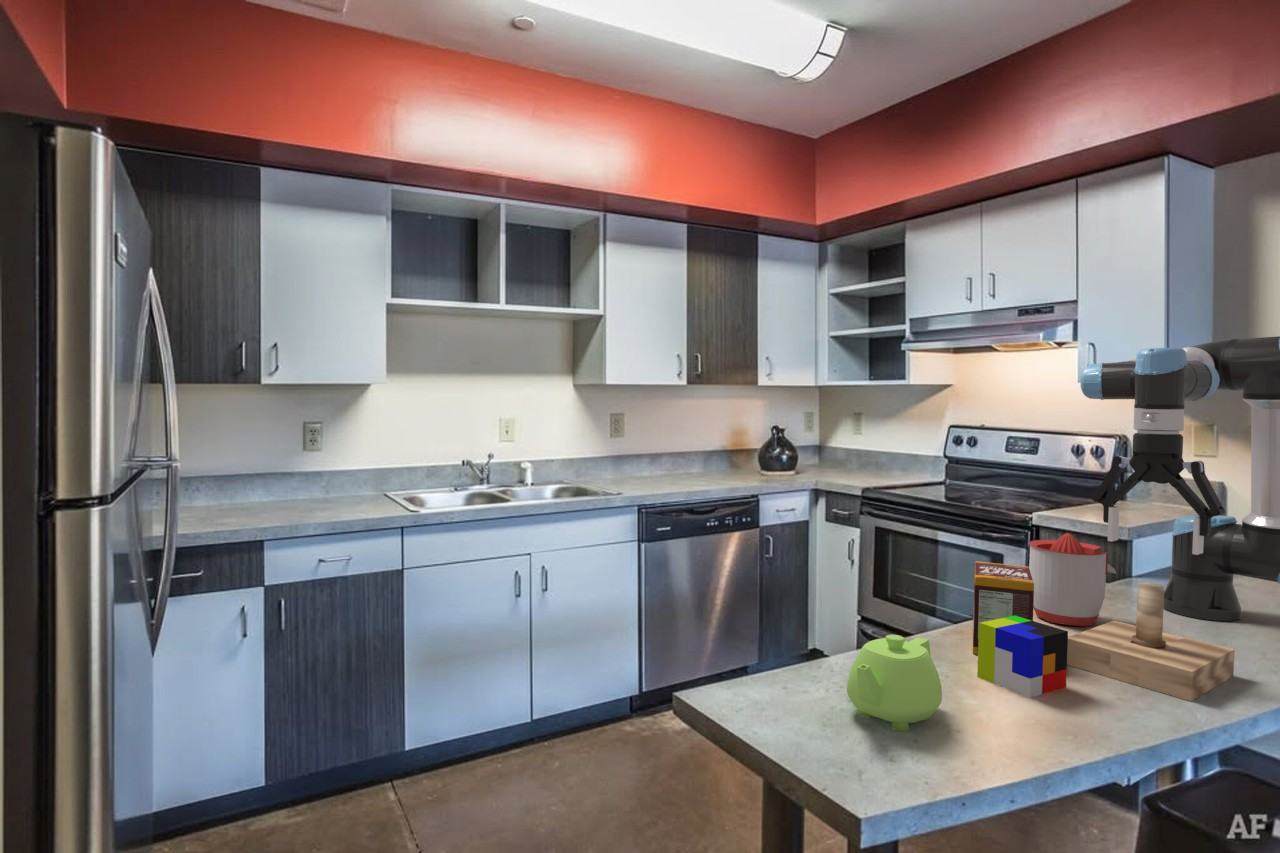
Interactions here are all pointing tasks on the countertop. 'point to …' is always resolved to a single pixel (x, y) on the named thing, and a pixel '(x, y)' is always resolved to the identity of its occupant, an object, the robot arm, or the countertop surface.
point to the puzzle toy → (1022, 655)
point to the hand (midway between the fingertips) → (1153, 546)
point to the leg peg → (1149, 616)
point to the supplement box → (1001, 594)
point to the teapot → (895, 681)
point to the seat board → (1152, 660)
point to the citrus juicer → (1068, 580)
